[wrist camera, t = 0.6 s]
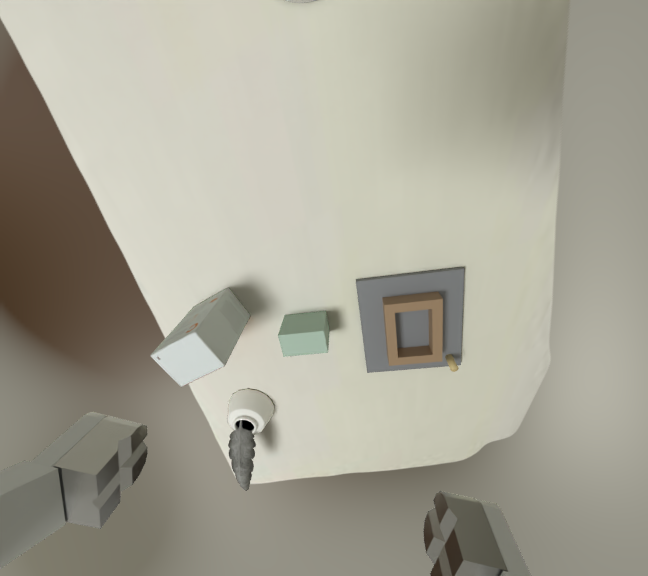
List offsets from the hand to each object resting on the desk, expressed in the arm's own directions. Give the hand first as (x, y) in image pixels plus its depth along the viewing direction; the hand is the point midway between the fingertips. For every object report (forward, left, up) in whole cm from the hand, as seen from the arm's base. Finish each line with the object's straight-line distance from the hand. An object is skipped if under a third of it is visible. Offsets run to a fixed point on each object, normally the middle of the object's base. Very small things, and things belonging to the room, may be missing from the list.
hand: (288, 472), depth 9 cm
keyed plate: (+21, +10, -39) cm, 45 cm away
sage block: (+19, -7, -39) cm, 44 cm away
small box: (+15, -21, -39) cm, 47 cm away
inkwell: (+41, -22, -39) cm, 61 cm away
